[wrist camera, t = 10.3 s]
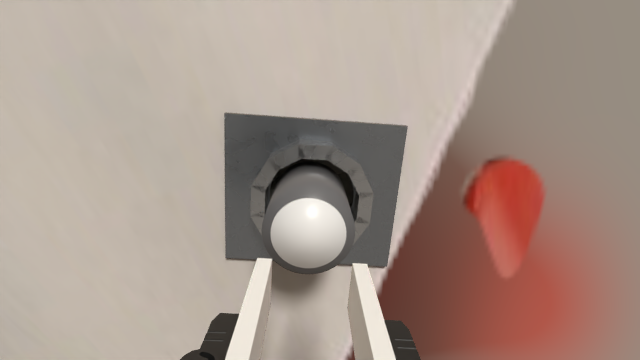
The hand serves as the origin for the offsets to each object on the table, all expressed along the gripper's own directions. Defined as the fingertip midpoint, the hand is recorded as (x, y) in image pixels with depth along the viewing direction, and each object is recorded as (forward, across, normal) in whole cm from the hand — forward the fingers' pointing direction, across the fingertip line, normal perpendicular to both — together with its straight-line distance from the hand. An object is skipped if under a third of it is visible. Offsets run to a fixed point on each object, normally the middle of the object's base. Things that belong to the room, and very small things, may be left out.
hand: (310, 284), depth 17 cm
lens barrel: (+14, 0, 0) cm, 14 cm away
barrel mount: (+15, 0, 0) cm, 15 cm away
